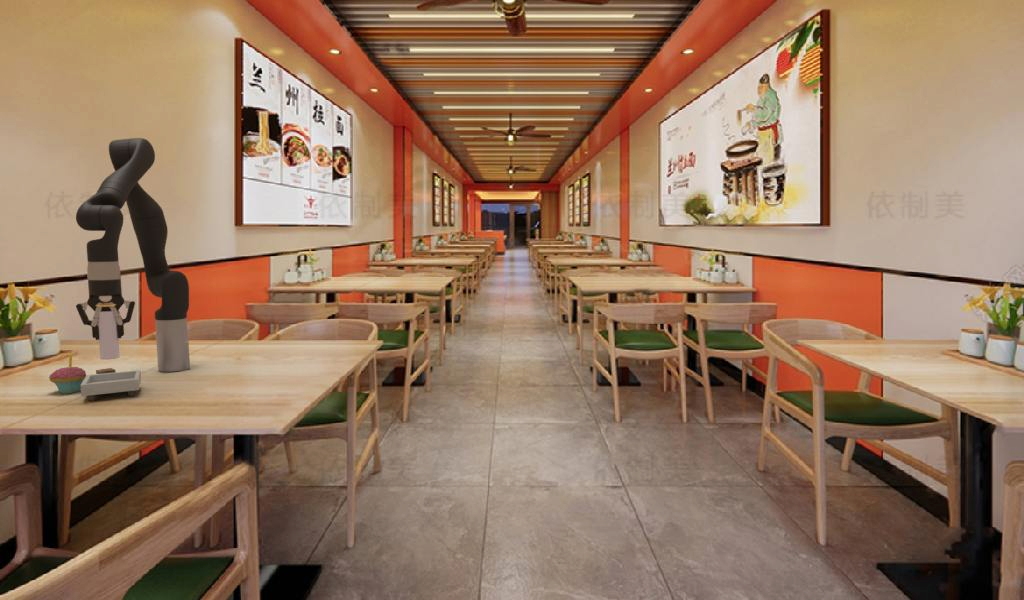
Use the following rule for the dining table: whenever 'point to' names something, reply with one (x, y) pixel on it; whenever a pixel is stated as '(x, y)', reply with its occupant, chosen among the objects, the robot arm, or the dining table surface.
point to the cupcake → (68, 378)
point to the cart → (110, 383)
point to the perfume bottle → (108, 331)
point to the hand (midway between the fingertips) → (108, 338)
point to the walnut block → (105, 371)
